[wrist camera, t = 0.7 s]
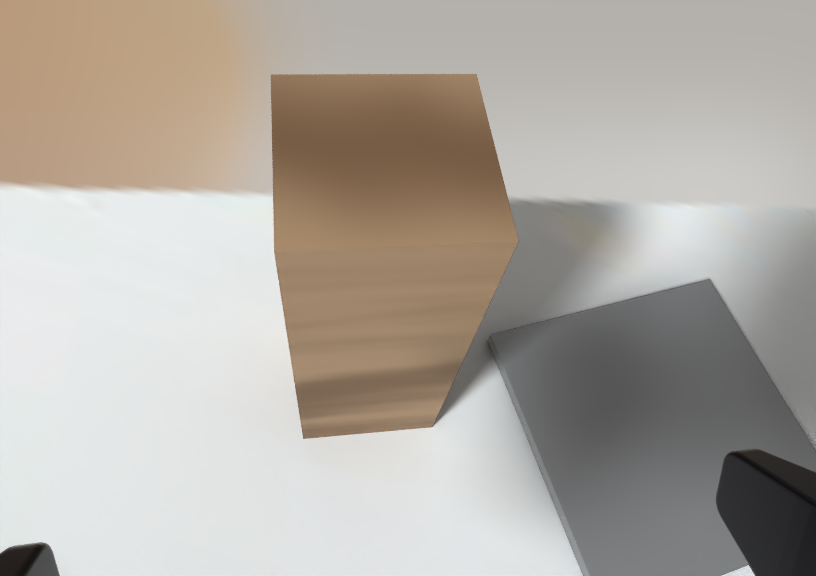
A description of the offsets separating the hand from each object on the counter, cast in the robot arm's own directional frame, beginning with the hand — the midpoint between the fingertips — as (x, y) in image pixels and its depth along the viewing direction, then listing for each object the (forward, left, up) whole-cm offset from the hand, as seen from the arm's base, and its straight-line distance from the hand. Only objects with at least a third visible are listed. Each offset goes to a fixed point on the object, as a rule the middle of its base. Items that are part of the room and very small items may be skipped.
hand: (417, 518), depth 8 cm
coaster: (+2, -13, -15) cm, 20 cm away
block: (+8, -2, -15) cm, 17 cm away
